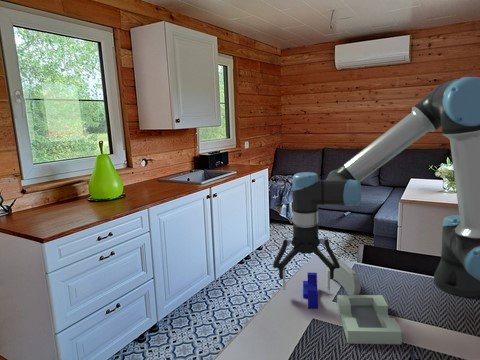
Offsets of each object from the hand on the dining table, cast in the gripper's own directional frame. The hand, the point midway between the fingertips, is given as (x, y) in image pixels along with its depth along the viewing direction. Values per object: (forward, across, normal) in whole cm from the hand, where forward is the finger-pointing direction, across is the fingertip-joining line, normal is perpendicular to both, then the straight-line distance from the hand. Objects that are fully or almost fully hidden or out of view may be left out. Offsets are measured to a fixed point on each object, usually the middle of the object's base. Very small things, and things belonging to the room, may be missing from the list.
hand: (306, 288), depth 112 cm
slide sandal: (+4, -12, -8) cm, 15 cm away
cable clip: (+4, -1, 0) cm, 4 cm away
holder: (+3, -15, +13) cm, 20 cm away
